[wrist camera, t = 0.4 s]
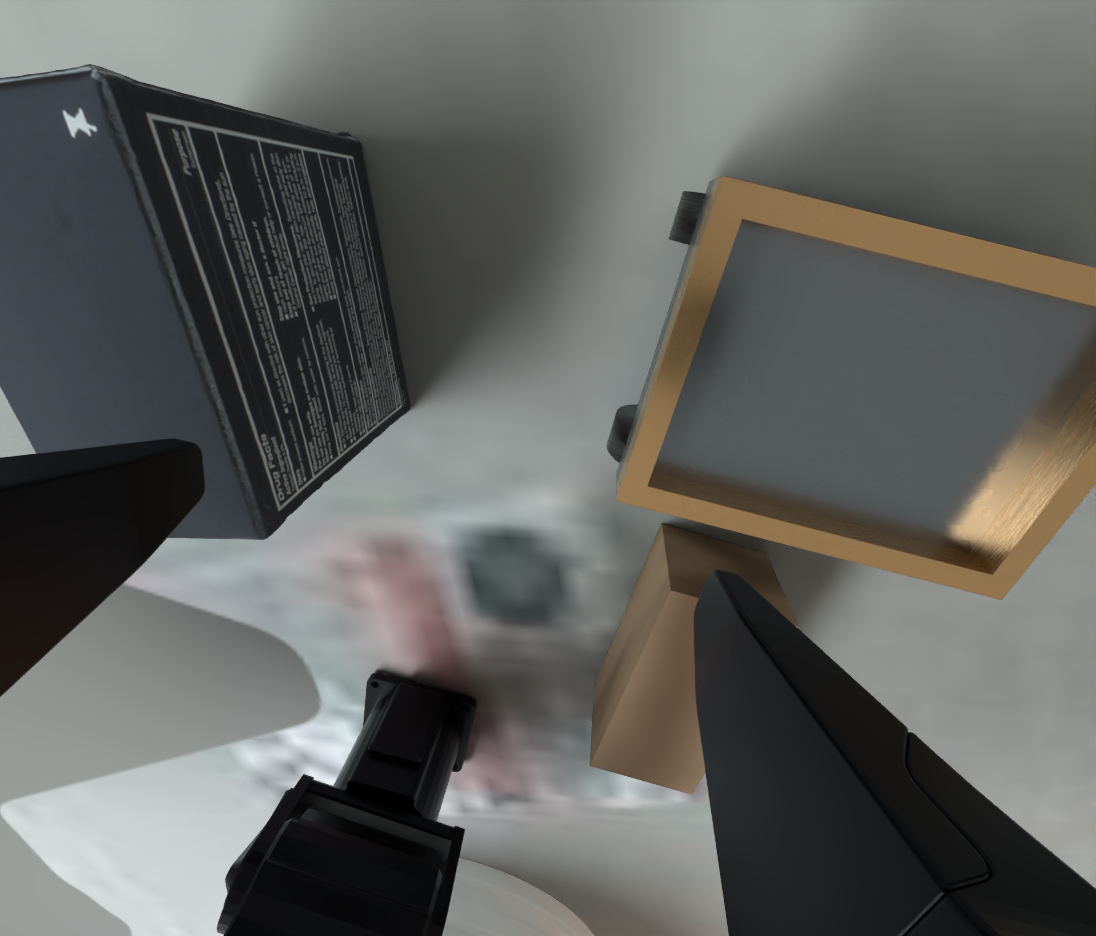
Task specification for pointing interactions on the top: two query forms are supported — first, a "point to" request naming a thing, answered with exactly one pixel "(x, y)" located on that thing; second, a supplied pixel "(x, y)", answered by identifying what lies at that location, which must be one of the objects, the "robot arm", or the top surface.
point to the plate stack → (505, 906)
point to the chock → (665, 660)
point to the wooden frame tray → (866, 389)
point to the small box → (192, 289)
